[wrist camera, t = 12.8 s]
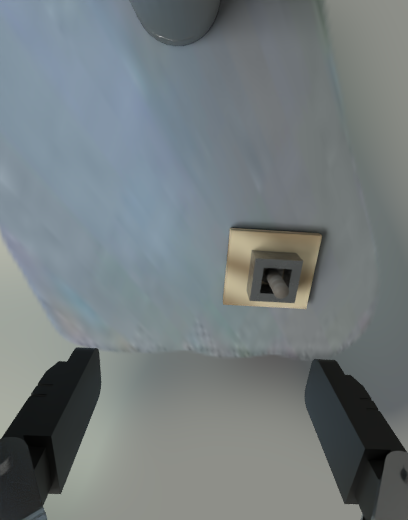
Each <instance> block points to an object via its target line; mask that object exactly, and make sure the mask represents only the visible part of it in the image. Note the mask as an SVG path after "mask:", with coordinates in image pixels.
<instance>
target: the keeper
mask: <svg viewBox="0 0 408 520" xmlns="http://www.w3.org/2000/svg"><path fill="white" fill-rule="evenodd" d="M321 238H322V235H320V234H319V233H306V232H290V231H273V230H257V229H241V228H230V235H229V245H228V254H227V264H226V274H225V284H224V294H223V304H224V305H243V306H262V307H281V308H300V309H306V307H307V303H308V298H309V293H310V289H311V284H312V280H313V275H314V270H315V266H316V261H317V257H318V252H319V247H320V243H321ZM252 250H258V251H274V252H291V253H297V254H298V256H299V257H300V258H301V259H302V260H303V265H302V270H301V275H300V280H299V285H298V290H297V295H296V300H295V303H281V302H262V301H250V300H249V297H248V294H247V291H246V290H247V282H248V274H249V267H250V259H251V252H252ZM283 274H284V269H277V268H264V270H263V276H262V283H263V284H269V285H270V287H271V289H272V291H273V293H274V295H275V297H277V298H279V299H283V298H285V297H287V296H288V294H289V289H288V287H287V285H286V284H285V282H284V280H283Z"/></svg>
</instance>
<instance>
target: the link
mask: <svg viewBox="0 0 408 520" xmlns="http://www.w3.org/2000/svg"><path fill="white" fill-rule="evenodd" d="M302 265H303V260H302V259H301V258H300V257H299V256H298V254H297V253H291V252H274V251H258V250H252V252H251V259H250V267H249V274H248V282H247V290H246V291H247V294H248V297H249V300H250V301H262V302H281V303H295V300H296V295H297V290H298V285H299V280H300V275H301V270H302ZM264 268H277V269H284V274H283V280H284V282H285V284H286V285H287V287H288V289H289V294H288V296H287V297H285V298H283V299H279V298H277V297H275V295H274V293H273V291H272V289H271V287H270V285H269V284H263V283H262V276H263V270H264Z"/></svg>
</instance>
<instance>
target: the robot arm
mask: <svg viewBox="0 0 408 520" xmlns="http://www.w3.org/2000/svg"><path fill="white" fill-rule="evenodd" d="M129 1H130V3H131V5H132V7H133V9H134V11H135V13H136V15H137V17H138V18H139V20H140V22H141V24H142V25H143V27H144V28H145V29H146V30H147V32H148V33H149V34H150V35H151V36H153V37H154V38H155V39H157V40H158V41H160V42H162V43H165V44H168V45H172V46H184V45H187V44H191V43H193V42H195V41H197V40H198V39H200V38H201V37H202V36H203V35H204V34H205V33H206V32H207V31H208V30H209V28H210V27H211V26H212V24H213V22H214V20H215V18H216V15H217V13H218V9H219V5H220V0H129ZM100 389H101V372H100V359H99V350H98V349H97V348H76V349H75V350H74V351H73V353H72V354H71V356H70V358H69V359H68V361H67V362H62V361H59V362H57V363H56V364H55V365H54V366H53V367H51V368H50V369H49V370H47V371H46V373H45V374H44V375H43V377H42V378H41V380H40V381H39V383H38V386H36V387H35V389H34V390H33V392H32V393H31V396H30V397H29V398H28V400H27V401H26V402H25V404H24V405H23V407H22V409H21V410H20V411H19V413H18V415H17V416H16V417H15V419H14V420H13V422H12V423H11V425H10V426H9V428H8V430H7V431H6V432H5V434H4V435H3V437H2V438H1V439H0V520H47V516H46V513H45V511H44V508H43V505H44V502H45V500H46V498H47V495H48V494H61V492H62V490H63V487H64V484H65V482H66V479H67V477H68V474H69V472H70V469H71V467H72V464H73V462H74V459H75V457H76V454H77V452H78V449H79V446H80V444H81V441H82V439H83V436H84V434H85V431H86V428H87V426H88V424H89V421H90V419H91V416H92V414H93V411H94V408H95V406H96V403H97V401H98V398H99V394H100ZM305 404H306V408H307V410H308V413H309V415H310V418H311V420H312V423H313V426H314V428H315V431H316V433H317V435H318V438H319V440H320V443H321V446H322V448H323V450H324V453H325V456H326V458H327V460H328V463H329V466H330V468H331V471H332V473H333V476H334V478H335V481H336V483H337V486H338V488H339V491H340V493H341V496H342V498H343V501H344V503H345V504H359V506H360V509H361V511H362V513H363V514H362V517H361V520H408V453H407V451H406V450H405V448H404V447H403V446H402V444H401V443H400V441H399V439H398V438H397V436H396V435H395V433H394V432H393V430H392V429H391V427H390V426H389V424H388V423H387V421H386V420H385V419H384V417H383V415H382V414H381V412H380V411H378V408H377V406H376V405H375V403H374V402H373V401H372V400H371V398H370V396H369V394H368V393H367V391H366V390H365V388H364V387H363V386H362V385H361V384H360V383H359V382H358V381H357V380H356V379H354V378H353V377H352V376H351V375H345V374H344V372H343V371H342V369H341V368H340V366H339V364H338V363H337V362H336V361H335V360H322V359H314V360H313V361H312V364H311V368H310V372H309V377H308V380H307V385H306V389H305Z"/></svg>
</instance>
